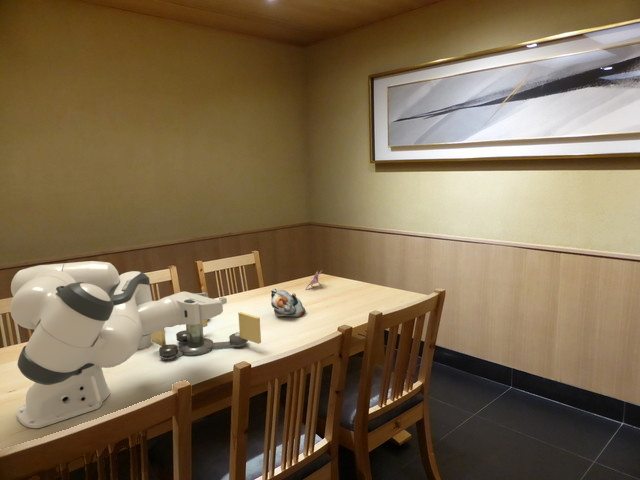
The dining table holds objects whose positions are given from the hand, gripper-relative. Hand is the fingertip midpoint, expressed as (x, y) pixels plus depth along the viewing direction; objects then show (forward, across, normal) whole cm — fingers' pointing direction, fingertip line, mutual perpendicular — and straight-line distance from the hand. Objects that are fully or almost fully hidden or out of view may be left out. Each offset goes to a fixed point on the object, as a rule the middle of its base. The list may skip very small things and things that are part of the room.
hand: (215, 297), depth 145 cm
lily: (+84, -31, -22) cm, 92 cm away
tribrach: (+2, -16, -22) cm, 28 cm away
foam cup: (-8, -35, -22) cm, 42 cm away
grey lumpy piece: (+46, -14, -22) cm, 54 cm away
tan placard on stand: (+13, -2, -21) cm, 24 cm away
